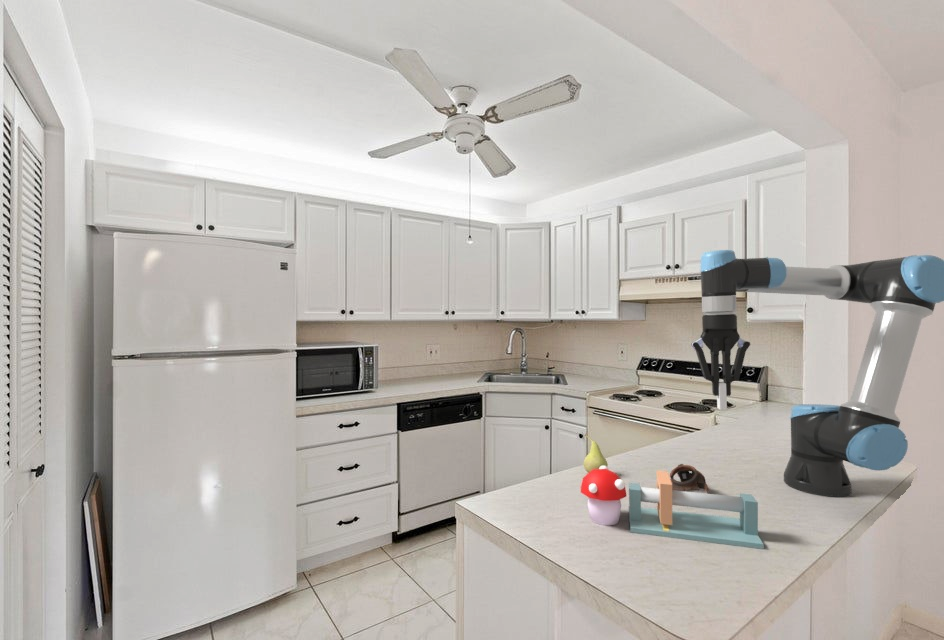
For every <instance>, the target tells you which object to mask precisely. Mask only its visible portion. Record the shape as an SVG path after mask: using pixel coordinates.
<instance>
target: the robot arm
mask: <svg viewBox="0 0 944 640" xmlns="http://www.w3.org/2000/svg"><path fill="white" fill-rule="evenodd" d="M699 271H700V286H701V312H702V313H704V315H702V316H701V318H702V319H701V320H702V321H701V323H702V332H701V334H700V338H699V339H697V340H695V341H692V342H691V347H692V348H693V349H694V351H695V353H696V356H697V359H698V363H699V366H700V369H701V373H702V376H703V379H705V380H707V381H709V382H711V390H712V395H713V396H715V397H716V406H717V407H716V408H717V409H718V410H720V411H727V410H728V408H727V407H728V405H727V404H728V402H727V397H731V394H732V392H731V391H732V387H731V386H732V383H733V382H735V381H739V380H740V377H741V373H742V369H743V365H744V360H745V358H746V357H745V356H746V353H747V350H748V349H749V347H750V346H751V342H750V341H746V340H744V339H743V338H741V335H740V334H739V332H738V316H737V314H735V312H737V311H738V310H737V308H738V307H737V293H760V294H761V293H762V294H781V295H782V294H785V295H805V296H824V297H825V298H827V299H829V300H833V301H834V300H837V301H847V302H848V301H849V302H856V303H861V304H862V303H863V304H870V307H871V308H872V309H873V310H874V311H875V315H874V317H873V322H872V324H871V325H872V326H871V328H870V332H869V335H868V339H867V342H866V344H865V348H864V352H863V355H862V359H861V362H860V365H859V369H858V373H857V375H856V379H855V382H854V386H853V388H852V391H851V392H852V393H851V396H850V399H849V400H848V401H847V402H845V403H842V404H840V405H835V404H816V403H813V404H811V403H810V404H806V403H805V404H802V403H801V404H796V405H793V406H792V407H791V411H790V448H791V450H790V458H789V460H788V463H787V465H786V467H785V469H784V473H783V482H784V483H785V484H786V485H787V486H788V487H791V488H793V489H795V490H799V491H801V492H805V493H809V494H812V495H813V494H814V495H819V496H827V497H847V496H850V495H851V494H852V482H851V479H850V478H849V474H848V472H847V469H846V468H845V464H844V461H845V462H847V463H850V464H852V465H854V466H856V467H859V468H865V469H868V470H871V471H876V472H877V471H879V472H880V471H886V470H889V469H891V468H893V467H895V466H897V465H898V464H899V463H901V461H902V460H903V459H904V458H905V456H906V454H907V452H908V448H909V447H908V446H909V443H908V439H906V438H907V436H906V434H905V433H904V431H903V430H901V429H900V426H901V425H900V424H901V420H900V418H899V417H898V416H897V414H896V408H897V404H898V401H899V398H900V394H901V391H902V387H903V384H904V381H905V377H906V373H907V370H908V367H909V364H910V360H911V357H912V353H913V350H914V347H915V344H916V340H917V337H918V334H919V330H920V326H921V322H922V320H923V319H924V318H927V317H928V316H932V315H933V314H934V310H935V306H936V304H938V303H939V304H940V303H942V302H944V259H943V258H940V257H938V256H935V255H931V254H925V255H924V254H923V255H916V254H915V255H909V256H904V257H896V258H891V259H890V258H888V259H883V260H882V259H881V260H880V259H879V260H873V261H868V262H863V263H862V262H861V263H856V264H855V263H854V264H847V265H845V264H844V265H840V264H835V265H832V266H829V267H828V268H825V267H824V268H822V267H821V268H820V267H804V266H803V267H802V266H801V267H800V266H799V267H798V266H786V264H785V262H784V261H783V260H782V259H780V258H778V257H768V256H766V257H758V258H757V257H755V258H753V257H752V258H751V257H750V258H737V257H736V253H735V251H734V250H732V249H718V250H710V251H707V252H703V254H702V255H701V256H700V269H699ZM736 344H737V345H736ZM704 345H705V347H707V348H708V349H709V351H710V352H709V353H710V367H711V368H710V369H711V370H709V365H708V362H707V359H706V356H705V353H704V350H703V348H704ZM735 346H736V347H737V350H736V354H735V356H734V357H735V358H734V362H733V366H732V367H731V364H732V363H731V354H732V353H731V351H732V349H733V348H735ZM720 352H721V358H722V380H723V381H720V365H719V363H720V360H719V359H720V358H719V357H720V356H719V355H720Z"/></svg>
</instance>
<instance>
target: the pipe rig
mask: <svg viewBox="0 0 944 640" xmlns="http://www.w3.org/2000/svg"><path fill="white" fill-rule="evenodd" d="M628 487H629V488H628V519H629V528H630V529H629V530H630V533H636V534H641V535H642V534H643V535H651V536H658V537H659V536H660V537H664V538H665V537H667V538H674V539H675V538H676V539H681V540H690V541H698V542H699V541H700V542H707V543H713V544H722V545H729V546H737V547H746V548H752V549H753V548H754V549H760V550H764V543H763V541H762V540H761V538H760V537H759V533H758V532H759V524H758V521H759V506H758V504H759V502H758V501H757V499H756V498H755V497H754V495H753V494H751V493H750V494H749V493H741V492H739V496H735V495H734V496H733V495H723V494H716V493H714V494H713V493H709V494H707V492H705V493H703V492H694V491H676V490H672V506H679V507H687V508H697V509H705V510H706V509H707V510H715V511H716V510H717V511H724V512H734V513H739V517H729V516H722V515H721V516H720V515H715V514H713V515H712V514H704V513H703V514H702V513H694V512H686V511H685V512H684V511H676V510H672V525H665V524H661V523H660V519H659V515H658V510H657V508H651V507H650V508H649V507H642V502H643V503H653V504H657V503H659V504H660V489H657V488H654V487H644V486H643V487H642V486H641V484H640V483H637V482H629V483H628Z"/></svg>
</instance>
